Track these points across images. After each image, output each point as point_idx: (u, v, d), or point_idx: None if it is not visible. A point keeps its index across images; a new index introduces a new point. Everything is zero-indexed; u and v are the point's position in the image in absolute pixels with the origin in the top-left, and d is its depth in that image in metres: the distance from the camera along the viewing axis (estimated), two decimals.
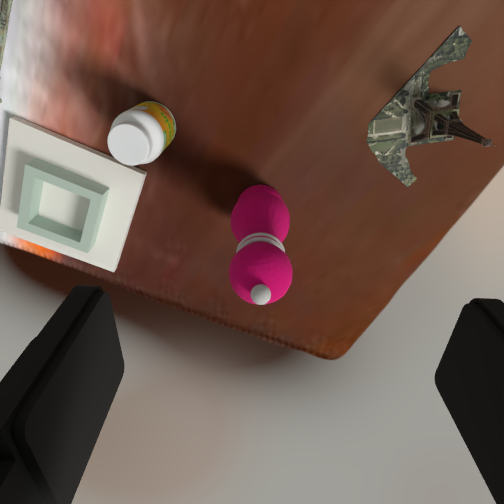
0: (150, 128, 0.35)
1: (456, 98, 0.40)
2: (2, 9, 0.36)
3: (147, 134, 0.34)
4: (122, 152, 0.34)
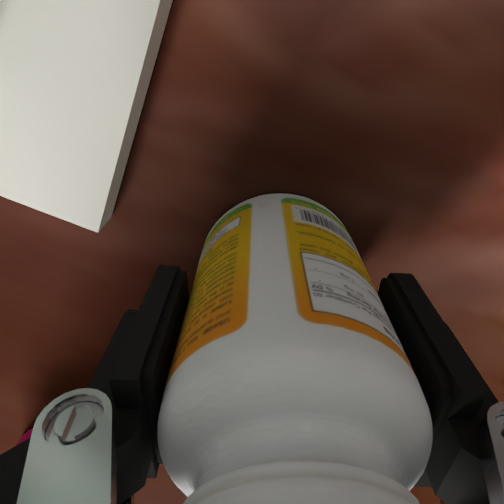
0: None
1: None
2: None
3: None
4: None
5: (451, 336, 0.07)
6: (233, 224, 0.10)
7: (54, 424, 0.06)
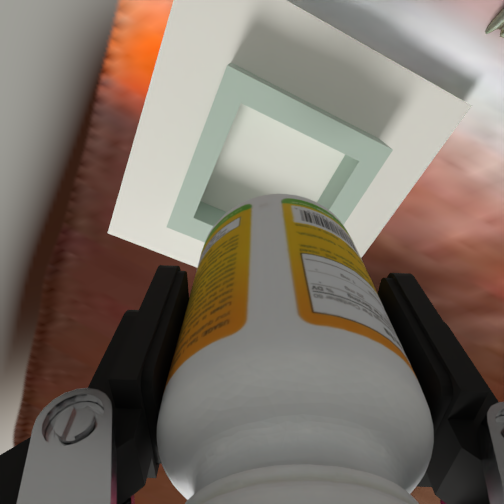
0: None
1: None
2: None
3: None
4: None
5: (451, 336, 0.07)
6: (233, 225, 0.10)
7: (54, 424, 0.06)
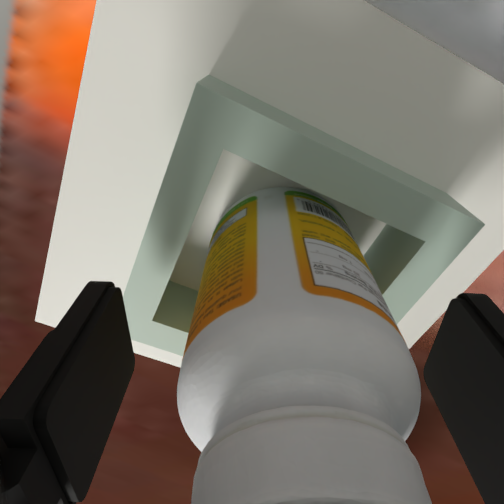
0: None
1: None
2: None
3: None
4: None
5: None
6: (240, 214, 0.11)
7: None
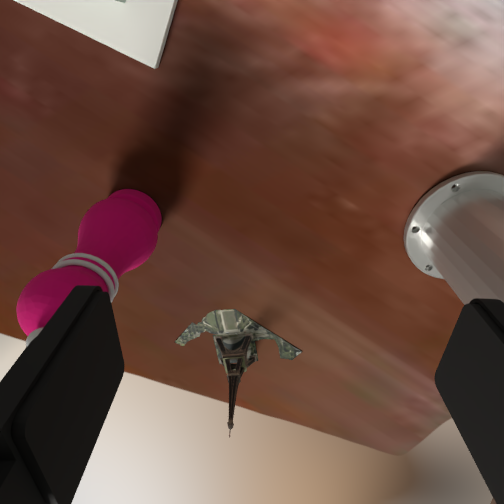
0: None
1: (252, 361, 0.49)
2: None
3: None
4: None
5: None
6: None
7: None
